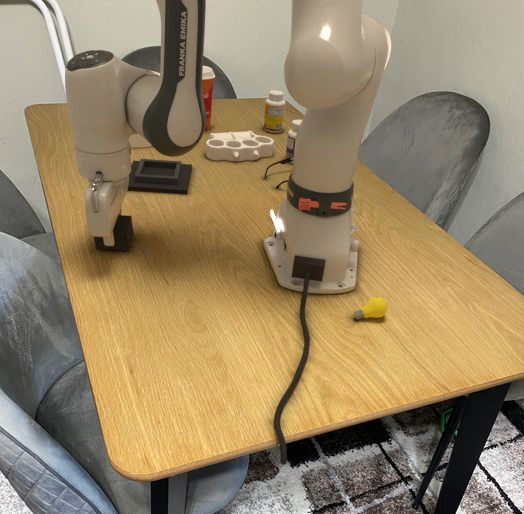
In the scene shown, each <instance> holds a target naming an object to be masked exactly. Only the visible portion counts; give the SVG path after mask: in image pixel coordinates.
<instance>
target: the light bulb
mask: <svg viewBox="0 0 524 514" xmlns="http://www.w3.org/2000/svg"><path fill="white" fill-rule="evenodd" d="M387 311H388V303H387V301H386V300H385V299H384V298H383V297H377V296H374V297H371V298H370V299H368V301H367V302H366V303H365V305H363V306H362V307H361V308H360V309H359V310H356V311H354V313H353V319H355V320H360V319H361V320H362V319H363V318H364V319H368V318H372V319H373V318H374V319H375V318H376V319H378V318H382V317H383V316H385V315H386V314H387Z"/></svg>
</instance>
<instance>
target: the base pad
mask: <svg viewBox="0 0 524 514" xmlns="http://www.w3.org/2000/svg"><path fill="white" fill-rule="evenodd" d="M131 169H132V170H131V173H130V174H129V186H128V190H127V191H133V192H148V193H164V194H165V193H166V194H179V195H188V192H189V186H190V181H191V174H192V171H193V164H191V163H183V161H181V160H168V159H167V160H165V159H151V158H140V160H132V162H131Z"/></svg>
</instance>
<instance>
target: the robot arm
mask: <svg viewBox="0 0 524 514" xmlns="http://www.w3.org/2000/svg"><path fill="white" fill-rule="evenodd" d="M155 2H156V4H157V5H156V6H157V8H158V11H159V12H158V13H159V16H160V67H159V68H160V69H159V70H160V71H159V73H160V76H159V75H158V74H156V73H154V72H155V71H154V72H152V70H150V69H145V68H141V67H137V66H134V65H131V64H130V63H128V62H125V61H124V60H122V59H121V58H119V57H118V56H116V55H115V54H114V53H113V52H111V51H109V50H104V49H96V50H95V49H92V50H90V49H89V50H87V51H86V50H85V51H82V52H79V53H76V54H75V55H74V56H73V57H72V58H70V59H69V60H67V63H66V66H65V69H64V88H65V98H66V106H67V111H68V112H67V113H68V118H69V120H70V123H71V124H72V127H73V133H74V134H73V148H74V154H75V159H76V166H77V171H78V174H79V175H80V176H81V177H83V178H84V179H86V180H87V183H88V186H87V188H86V190H85V194H84V207H85V208H84V209H85V217H86V218H85V219H86V226H87V231H88V234H89V235H90V236H91V237H93V238H94V237H103V240H104V244H105V245H106V246H113V245H114V243H115V234H113V229H114V226H115V223H116V220H117V217H118V215H122V213H123V203H124V200H125V199H126V198H125V197H126V195H127V192H128V191H129V190H128V186H129V174H130V173H131V170H132V169H131V165H132V158H131V155H132V148H131V145H130V143H129V137H130V136H131V135H134V134H139V135H141V136H142V137H143V138H145V139H146V140H147V141H148V142H149V143H150V144H151V145H152V146H151V147H153V149H154V150H156V151H157V152H158V153H159V154H161V155H163V156H166V157H169V158H177V157H182V156H184V155H186V154H187V153H189V152H191V151H192V150H194V149H195V147H197V145H198V144H199V143H200V142H201V140H202V138H203V135H204V134H205V127H206V110H205V105H204V100H203V93H202V72H203V66H204V53H205V51H204V50H205V33H206V10H207V7H206V6H207V0H155ZM363 6H364V0H291V20H290V42H289V47H288V48H289V49H288V52H287V54H286V56H285V60H284V64H283V65H284V66H283V80H284V84H285V87H286V90H287V91H288V93H289V95H290V97H291V98H292V99H293V101H295V102H296V103H297V104H298V105H300V106H301V107H303V108H306V110H305V113H304V115H303V118H302V119H301V120H302V122H301V124H300V126H299V128H298V131H297V135H296V142H295V151H294V159H293V164H292V167H291V173H290V174H289V176H288V179H287V180H288V182H286V183H287V184H286V197H285V199H284V200H282V201H281V202H280V203H279V204H278V205H277V207H276V213H274V210H273V209H270V217H271V219H272V221H273V224H274V226H273V234H272V235H271V236H268V237H266V238H264V240H263V243H262V245H263V248H264V251H265V253H266V256H267V259H268V260H269V263H270V266H271V268H272V270H273V273H274V275H275V278H276V281H277V282H278V284H279V285H280V286H281V287H282V288H285V289H288V290H292V291H295V292H299V293H302V294H301V298H300V299H301V300H300V307H299V319H300V324H301V327H302V331H303V335H304V343H303V351H302V355H301V358H300V360H299V362H298V366H297V368H296V370H295V373H294V375H293V378H292V380H291V382H290V384H289V386H288V388H287V389H286V390H285V392H284V394H283V396H282V397H281V399H280V400H279V402H278V404H277V406H276V409H275V412H274V417H273V427H274V431H275V434H276V437H277V439H278V440H277V441H278V444H279V451H280V459H279V462H280V465H282V466H285V465H286V464H287V462H288V448H287V442H286V439H285V436H284V434H283V433H284V432H283V431H282V427H281V417H282V412H283V410H284V407H285V405H286V403H287V401H288V399H289V398H290V396H291V394H292V393H293V392H294V390H295V388H296V387H297V385H298V382H299V381H300V377H301V375H302V372H303V370H304V367H305V365H306V362H307V359H308V356H309V352H310V344H311V337H310V331H309V328H308V324H307V321H306V305H307V304H306V303H307V298H308V294H320V295H322V294H323V295H335V294H336V295H337V294H344V293H349V292H352V291H354V290H355V289H356V284H357V269H358V256H359V248H360V242H361V240H359V239H356V238H354V237H352V232H357V230H358V224H357V223H355V222H354V221H353V220H354V217H355V213H356V209H354V207H352V204H353V198H354V193H355V192H354V188H355V182H354V177H355V173H356V167H357V162H358V158H359V154H360V150H361V149H360V148H361V145H362V140H363V137H364V134H365V130H366V128H367V125H368V122H369V119H370V116H371V113H372V110H373V107H374V105H375V101H376V98H377V95H378V92H379V89H380V86H381V82H382V79H383V76H384V72H385V70H386V67H387V65H388V63H389V60H390V57H391V53H392V40H391V36H390V33H389V31H388V29H387V27H386V25H384V24H383V23H382V21H380V20H379V19H378V18H376V17H373V16H371V15H368V14H364V13H363V9H364V8H363ZM149 70H150V71H149Z"/></svg>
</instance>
